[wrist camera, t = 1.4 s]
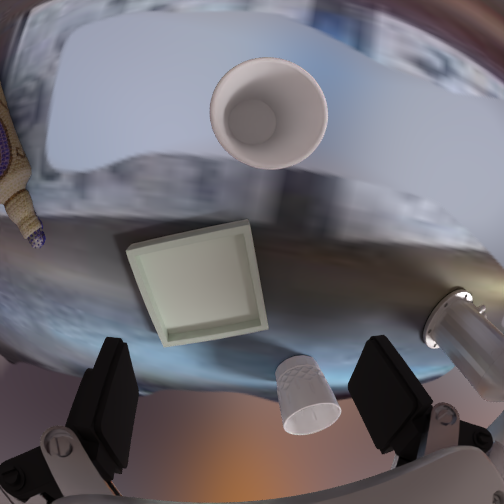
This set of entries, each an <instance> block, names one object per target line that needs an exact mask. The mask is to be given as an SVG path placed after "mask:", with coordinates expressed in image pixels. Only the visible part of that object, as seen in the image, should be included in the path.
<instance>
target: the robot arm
mask: <svg viewBox="0 0 504 504" xmlns="http://www.w3.org/2000/svg"><path fill="white" fill-rule="evenodd" d="M485 310H486V307H485V305H481V306H479V307H476V306H475V305H474V304H473V299H472V296H471V294H470V293H469V292H467V291H466V290H463V289H459V290H456V291H453V292H452V293H450V294H448V295H447V296H446V297H445V298H443V299H442V300H441V301H440V302H439V304H438V305H437V306H436V307H435V308H434V310H433V311H432V313H431V314H430V316H429V318H428V320H427V322H426V325H425V328H424V331H423V340H424V342H425V344H426V345H427V346H428V347H430V348H433V349H434V348H441V349H442V350H443V352H444V353H445V354H446V355H447V356H448V357H449V359H450V360H451V361H452V362H453V363H454V364H455V366H456V367H457V368H458V369H459V370H460V372H461V373H462V374H463V375H464V376H465V378H466V379H467V380H468V381H469V382H470V384H471V385H472V386H473V388H474V389H475V390H476V391H477V392H478V394H479V395H480V396H481V397H482V398H483V399H484V400H486V401H489V402H504V334H503V333H502V332H500V331H499V330H498V329H497V328H496V327H495V326H494V325H493V324H492V323H491V322H490V321H488V320H487V319H486V318H487V315H486V313H485V312H484V311H485ZM348 390H349V392H350V394H351V396H352V399H353V401H354V403H355V405H356V407H357V409H358V411H359V413H360V415H361V417H362V419H363V421H364V423H365V425H366V427H367V429H368V432H369V434H370V436H371V438H372V440H373V442H374V444H375V446H376V448H377V449H380V451H381V453H382V454H385V453H388V452H391V451H393V450H394V451H395V453H396V455H395V458H394V461H393V464H392V467H391V470H389V471H387V472H384V473H381V474H378V475H375V476H372V477H369V478H366V479H363V480H360V481H357V482H353V483H350V484H346V485H342V486H338V487H335V488H331V489H327V490H322V491H318V492H313V493H308V494H302V495H297V496H291V497H284V498H277V499H269V500H260V501H248V502H232V503H231V502H230V503H191V502H172V501H160V500H150V499H142V498H133V497H124V496H122V495H121V494H120V492H119V491H118V489H117V488H116V487H115V485H114V484H113V483H112V481H111V480H113V477H114V473H118V474H122V468H127V465H128V457H129V451H130V444H131V437H132V431H133V425H134V419H135V413H136V407H137V402H138V397H139V390H138V386H137V382H136V378H135V374H134V371H133V367H132V362H131V358H130V354H129V350H128V345H127V343H124V342H123V341H122V339H121V338H114V337H106V339H105V341H104V343H103V345H102V348H101V350H100V353H99V355H98V358H97V360H96V363H95V365H94V368H93V369H91V368H88V369H87V370H86V371H85V373H84V376H83V378H82V381H81V383H80V386H79V389H78V391H77V394H76V397H75V399H74V402H73V405H72V408H71V410H70V413H69V417H68V419H67V422H66V425H65V427H64V426H53V427H50V428H48V429H47V430H46V431H45V432H44V433H43V434H42V436H41V439H40V446H39V447H36V448H34V449H32V450H30V451H28V452H25V453H23V454H21V455H18V456H16V457H14V458H11V459H9V460H6V461H5V462H3V463H2V464H1V465H0V504H504V410H503V412H502V413H501V414H500V415H499V416H498V417H497V418H496V420H495V421H494V422H493V423H492V424H491V425H490V426H489V427H488V428H487V429H485V428H483V427H480V426H476V425H473V424H470V423H467V422H464V421H461V420H460V418H459V413H458V411H457V410H456V409H455V407H453V406H452V405H450V404H448V403H443V402H442V403H438V404H436V405H435V406H434V407H433V406H432V405H431V404H432V403H433V400H432V399H431V397H430V396H429V395H428V393H427V392H426V390H425V389H424V387H423V386H422V385H421V383H420V382H419V380H418V379H417V378H416V376H415V375H414V373H413V372H412V371H411V369H410V368H409V367H408V365H407V364H406V362H405V361H404V360H403V358H402V357H401V356H400V354H399V353H398V352H397V350H396V349H395V348H394V346H393V345H392V344H391V342H390V341H389V340H388V338H387V337H386V336H385V335H379V336H372V337H370V339H369V340H368V341H367V342H366V344H365V346H364V349H363V351H362V353H361V356H360V358H359V360H358V363H357V365H356V367H355V370H354V372H353V374H352V376H351V378H350V381H349V383H348Z"/></svg>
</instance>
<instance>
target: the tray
mask: <svg viewBox="0 0 504 504" xmlns="http://www.w3.org/2000/svg"><path fill="white" fill-rule="evenodd" d="M126 254H127V257H128V260H129V262H130V265H131V268H132V271H133V274H134V276H135V279H136V282H137V284H138V287H139V290H140V292H141V295H142V297H143V300H144V302H145V305H146V307H147V310H148V312H149V314H150V317H151V319H152V322H153V324H154V326H155V328H156V331H157V333H158V335H159V337H160V340H161V342H162V344H163V346H164V347H170V346H177V345H184V344H190V343H197V342H203V341H209V340H215V339H221V338H226V337H232V336H237V335H242V334H248V333H253V332H257V331H262V330H267V329H269V328H268V322H267V317H266V311H265V305H264V300H263V294H262V289H261V283H260V277H259V272H258V266H257V261H256V255H255V250H254V244H253V238H252V233H251V227H250V223H249V220H248V219H245V220H240V221H235V222H230V223H225V224H220V225H215V226H210V227H205V228H201V229H196V230H191V231H187V232H182V233H177V234H173V235H168V236H164V237H159V238H155V239H151V240H146V241H142V242H138V243H133V244H131V245H130V246H129V247H128V249H127V250H126Z"/></svg>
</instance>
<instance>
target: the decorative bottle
mask: <svg viewBox="0 0 504 504" xmlns="http://www.w3.org/2000/svg"><path fill="white" fill-rule="evenodd" d="M30 176H31V167H30V164H29V162H28V159H27V157H26V154H25V152H24V151H23V149H22V146H21V144H20V141H19V139H18V136H17V134H16V131H15V128H14V125H13V122H12V119H11V117H10V113H9V109H8V106H7V102H6V99H5V96H4V93H3V90H2V86H1V82H0V204H3V205H4V206H5V210H6V212H7V214H8V216H9V218H10V219H11V220H12V221H13V222H14V223H16V224H17V226H18V228H19V230H20V232H21V233H22V235H23V237H24V238H25V239H26V238H27V239H28V240H29V243H30V244H31V245H32V247H34V248H41V247H42V246H43V245H44V242H45V239H46V238H45V234H44V232H43V231H40V229H39V228H40V227H41V228H42V229H43V225H42V222H41V220H40V219H39V217H38V216H37V215H36V212H35V210H34V207H33V203H32V199H31V197H30V195H29V192H28V191H27V190H26V189H25V187H26V184H27V182H28V180H29V178H30Z"/></svg>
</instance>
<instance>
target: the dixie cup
mask: <svg viewBox="0 0 504 504" xmlns="http://www.w3.org/2000/svg"><path fill="white" fill-rule="evenodd" d="M210 121H211V125H212V129H213V131H214V134H215V136H216V138H217V139H218V141H219V143H220V144H221V145H222V147H223V148H224V149H225V150H226V151H227V152H228V153H229V154H230V155H231V156H233V157H234V158H235V159H237V160H238V161H240V162H242V163H244V164H246V165H249V166H251V167H255V168H260V169H282V168H286V167H290V166H292V165H295V164H297V163H299V162H301V161H302V160H304V159H305V158H307V157H308V156H309V155H310V154H311V153H312V152H313V151H314V150H315V149H316V148H317V146H318V145H319V144H320V142H321V140H322V138H323V136H324V134H325V130H326V127H327V121H328V109H327V103H326V99H325V96H324V94H323V92H322V90H321V88H320V86H319V85H318V83H317V82H316V80H315V79H314V78H313V77H312V76H311V75H310V74H309V73H308V72H307V71H306V70H304V69H303V68H301V67H300V66H298V65H296V64H294V63H292V62H290V61H287V60H283V59H279V58H271V57H263V58H255V59H251V60H248V61H245V62H243V63H241V64H238V65H237V66H235V67H233V68H232V69H231V70H229V71H228V72H227V73H226V74H225V75H224V76H223V77H222V79H221V80H220V81H219V83H218V84H217V86H216V88H215V90H214V92H213V95H212V98H211V103H210Z"/></svg>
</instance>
